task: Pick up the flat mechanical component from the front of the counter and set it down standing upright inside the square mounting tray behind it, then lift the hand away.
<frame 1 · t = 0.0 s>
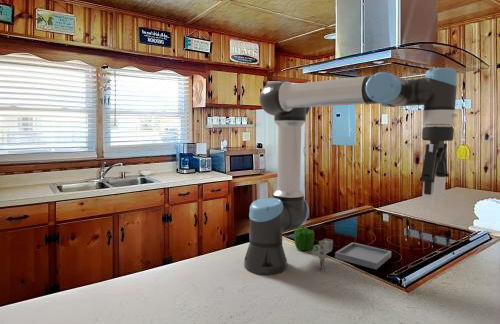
hand: (433, 202, 93), 28 cm above the countertop, tool pointing down, fingers open, 13 cm apart
mounting tray: (363, 257, 125), on the countertop
bell pepper: (303, 249, 135), on the countertop
mechanical component: (322, 270, 114), on the countertop
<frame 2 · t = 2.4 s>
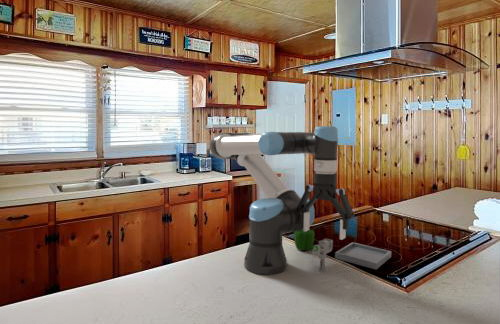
hand: (323, 234, 112), 13 cm above the countertop, tool pointing down, fingers open, 13 cm apart
nothing on the countertop moved.
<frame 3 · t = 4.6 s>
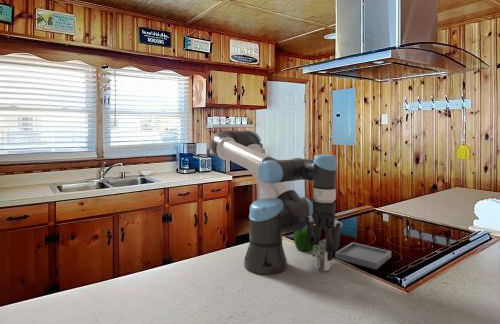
hand: (322, 267, 113), 1 cm above the countertop, tool pointing down, fingers closed on mechanical component, 3 cm apart
mechanical component: (322, 270, 114), on the countertop, touching gripper
everything else where it was.
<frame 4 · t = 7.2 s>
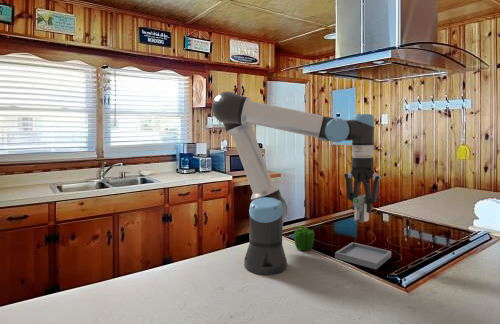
hand: (361, 219, 122), 15 cm above the countertop, tool pointing down, fingers closed on mechanical component, 3 cm apart
mechanical component: (361, 223, 122), point 14 cm above the countertop, touching gripper
everything else where it was.
when the fingers open (3 cm above the countertop, at t = 10.2 s): mechanical component stays where it is, resting on mounting tray.
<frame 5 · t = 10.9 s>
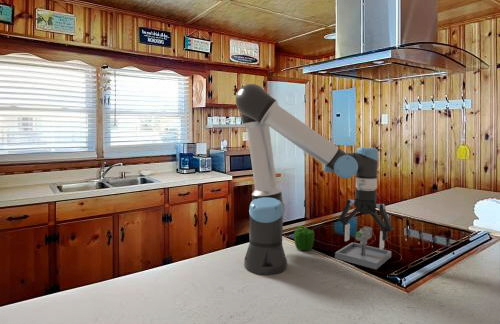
hand: (363, 244, 125), 5 cm above the countertop, tool pointing down, fingers open, 13 cm apart
mechanical component: (363, 255, 125), point 1 cm above the countertop, touching mounting tray
everything else where it was.
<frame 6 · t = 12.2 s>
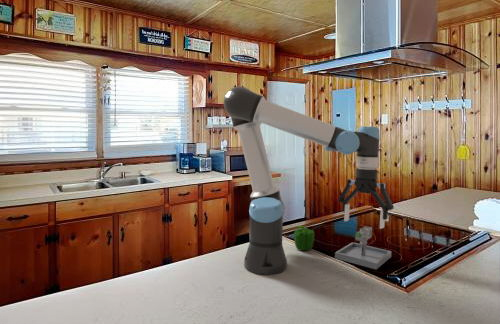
hand: (363, 224, 124), 13 cm above the countertop, tool pointing down, fingers open, 13 cm apart
nothing on the countertop moved.
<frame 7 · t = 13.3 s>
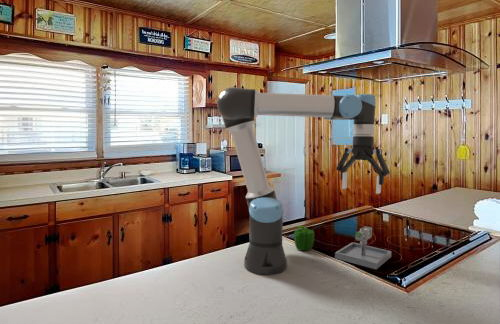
hand: (360, 190, 127), 25 cm above the countertop, tool pointing down, fingers open, 13 cm apart
nothing on the countertop moved.
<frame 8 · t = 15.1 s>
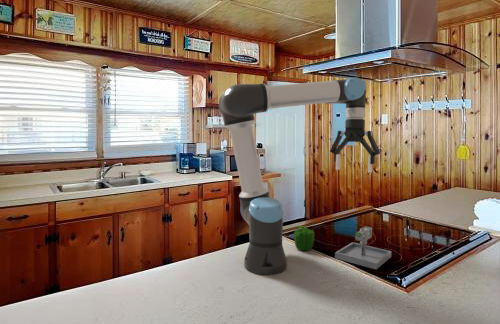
hand: (353, 171, 135), 32 cm above the countertop, tool pointing down, fingers open, 13 cm apart
nothing on the countertop moved.
at the end: mechanical component inside the target area on the mounting tray (0.1 cm from its centre), point 0.8 cm above the mounting tray's base; mechanical component tilted 1°; the gripper is holding nothing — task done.
